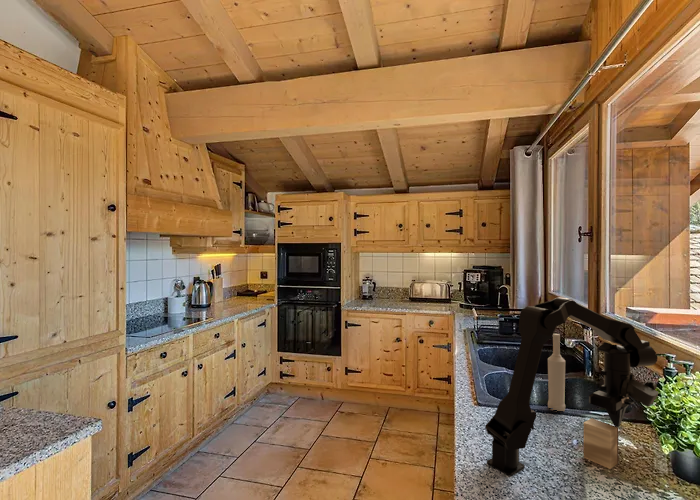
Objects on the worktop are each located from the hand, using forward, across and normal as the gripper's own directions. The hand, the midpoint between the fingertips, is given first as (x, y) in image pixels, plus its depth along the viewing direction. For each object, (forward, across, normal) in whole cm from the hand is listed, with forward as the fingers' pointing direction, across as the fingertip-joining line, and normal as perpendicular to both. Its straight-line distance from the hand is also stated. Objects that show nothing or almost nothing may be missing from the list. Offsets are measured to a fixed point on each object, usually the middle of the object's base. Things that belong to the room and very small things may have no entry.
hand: (616, 426), depth 99 cm
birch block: (+6, -10, 0) cm, 12 cm away
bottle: (+6, +12, +22) cm, 26 cm away
